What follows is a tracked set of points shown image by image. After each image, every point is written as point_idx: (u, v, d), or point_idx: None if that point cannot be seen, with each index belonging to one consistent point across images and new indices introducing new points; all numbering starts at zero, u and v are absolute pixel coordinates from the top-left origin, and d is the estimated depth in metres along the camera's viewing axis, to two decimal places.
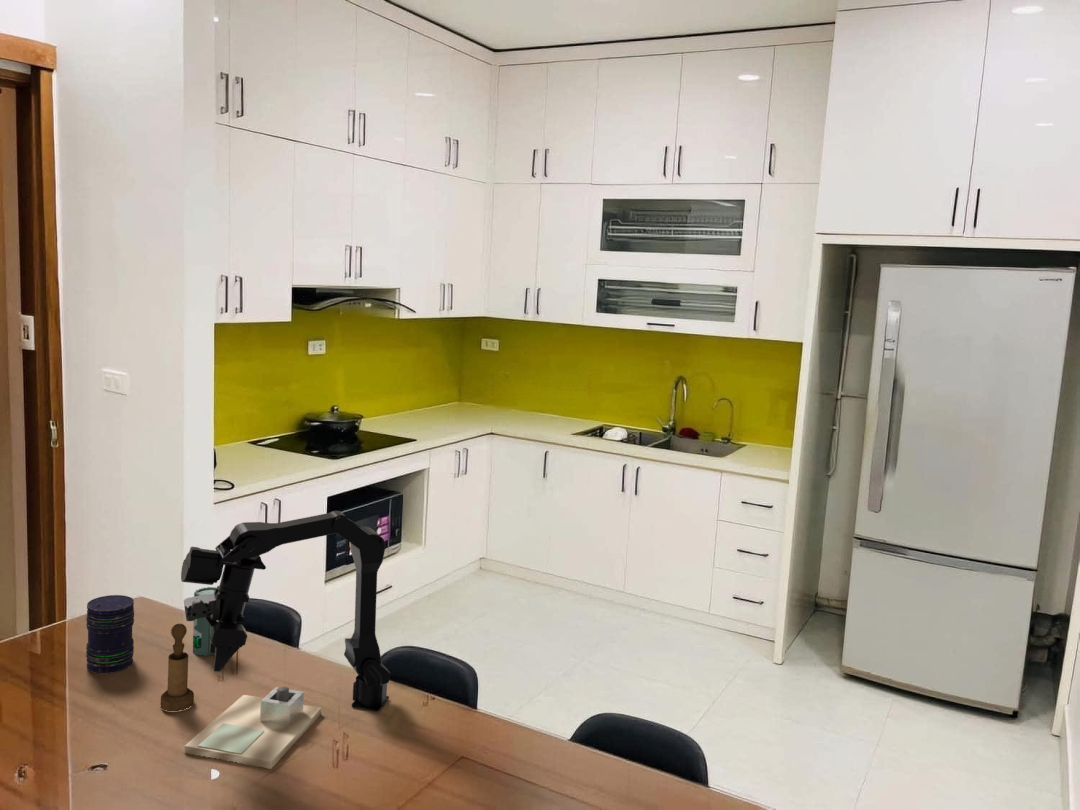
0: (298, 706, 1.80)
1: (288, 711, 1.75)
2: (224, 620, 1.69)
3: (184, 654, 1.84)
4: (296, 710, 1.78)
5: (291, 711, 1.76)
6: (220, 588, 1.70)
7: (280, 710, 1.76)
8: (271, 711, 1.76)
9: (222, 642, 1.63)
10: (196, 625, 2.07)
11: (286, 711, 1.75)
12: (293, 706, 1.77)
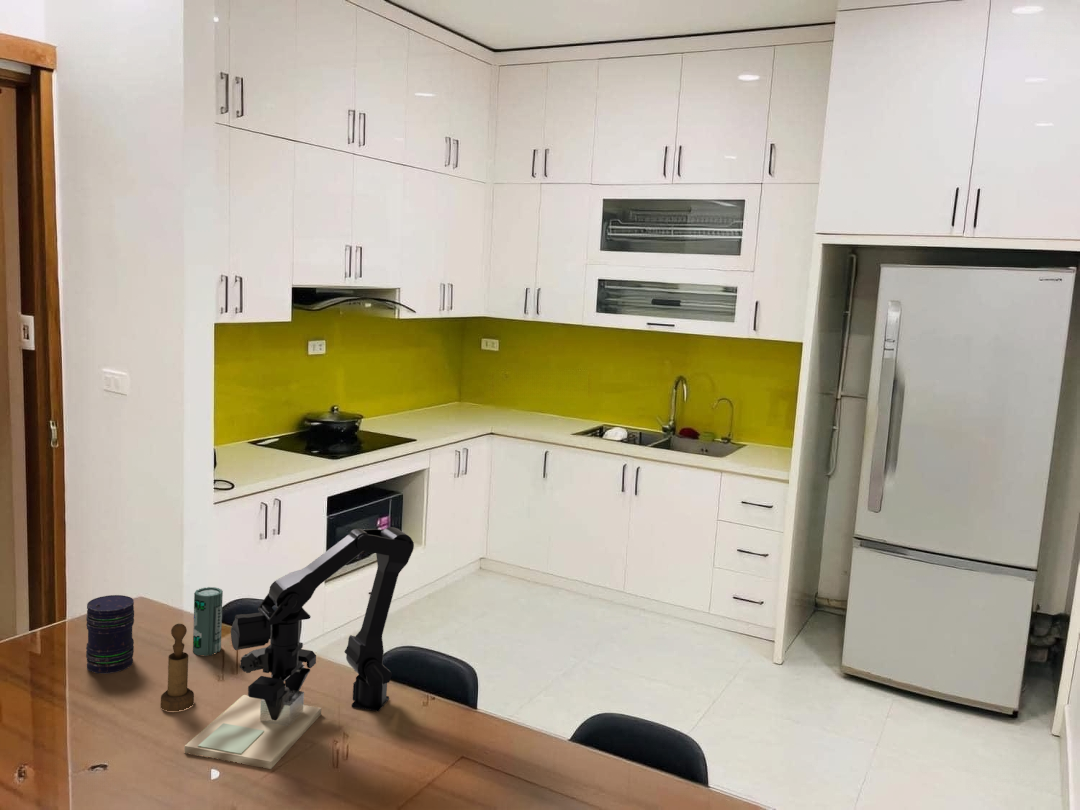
0: (298, 706, 1.80)
1: (288, 711, 1.75)
2: (274, 673, 1.75)
3: (184, 654, 1.84)
4: (296, 710, 1.78)
5: (291, 711, 1.76)
6: None
7: None
8: None
9: (255, 696, 1.69)
10: (196, 625, 2.07)
11: (286, 711, 1.75)
12: (293, 706, 1.77)
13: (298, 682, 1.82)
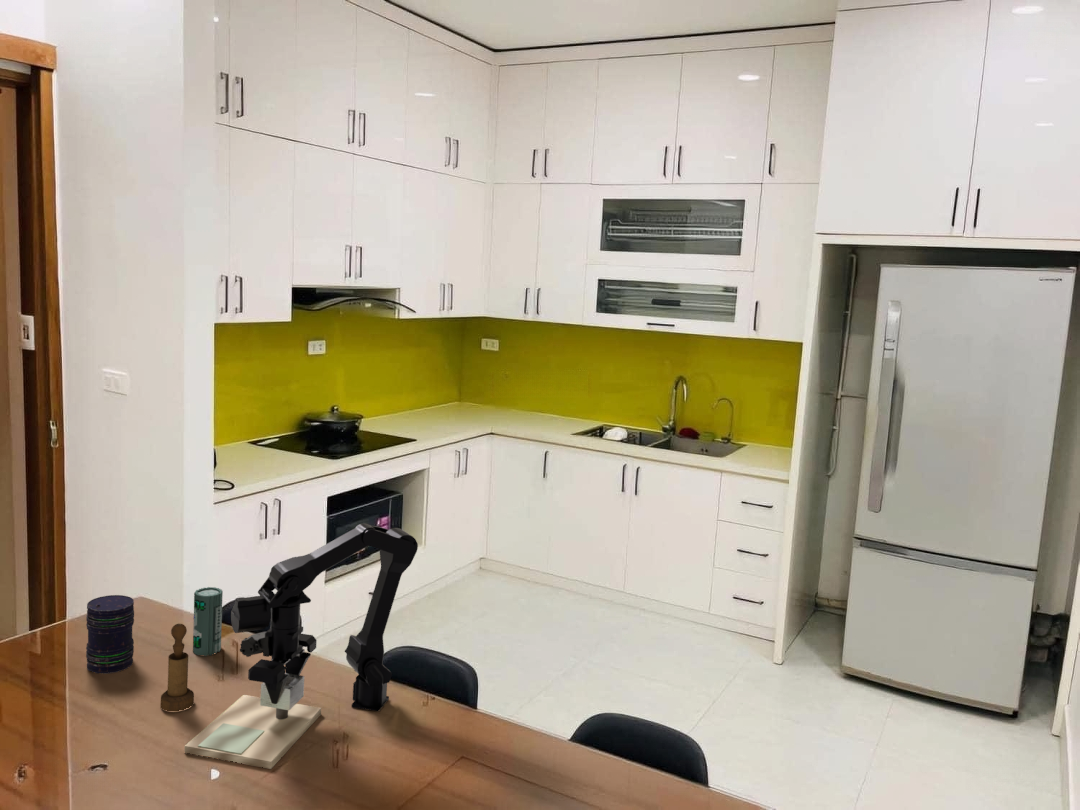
0: (299, 690, 1.79)
1: (288, 695, 1.75)
2: (274, 657, 1.75)
3: (184, 654, 1.84)
4: (296, 694, 1.78)
5: (291, 695, 1.76)
6: None
7: None
8: None
9: (255, 679, 1.69)
10: (196, 625, 2.07)
11: (286, 695, 1.75)
12: (293, 690, 1.76)
13: (298, 667, 1.81)
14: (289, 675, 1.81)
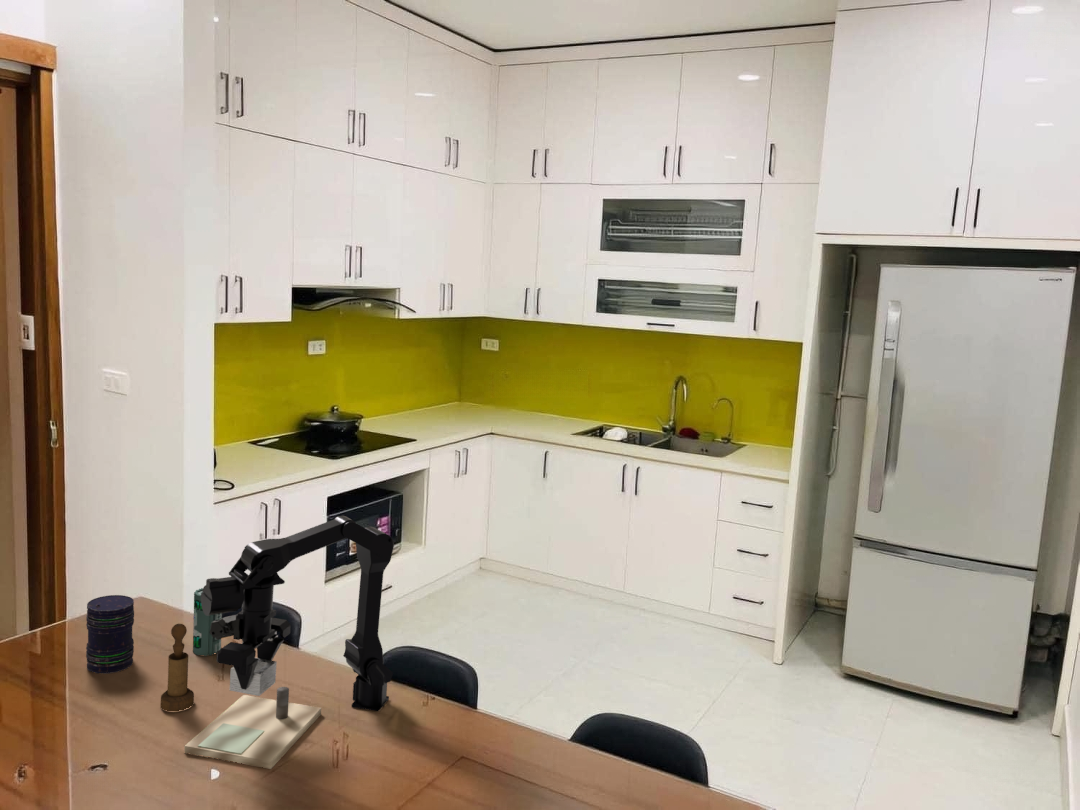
0: (270, 676, 1.72)
1: (259, 680, 1.68)
2: (245, 640, 1.68)
3: (184, 654, 1.84)
4: (267, 680, 1.71)
5: (262, 680, 1.69)
6: None
7: None
8: None
9: (223, 662, 1.62)
10: (196, 625, 2.07)
11: (257, 680, 1.68)
12: (264, 675, 1.70)
13: (271, 652, 1.75)
14: (261, 660, 1.74)
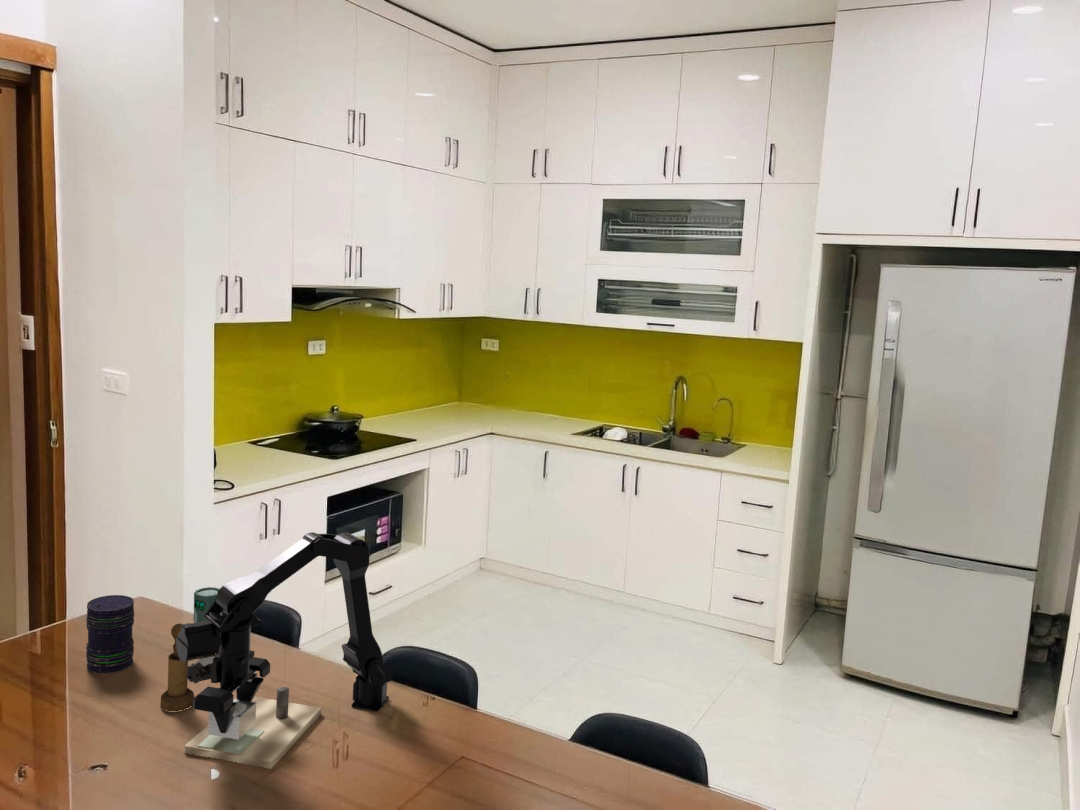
0: (250, 718, 1.69)
1: (237, 723, 1.65)
2: (222, 684, 1.65)
3: None
4: (247, 722, 1.68)
5: (241, 723, 1.66)
6: None
7: None
8: None
9: (200, 709, 1.59)
10: None
11: (236, 724, 1.65)
12: (243, 718, 1.67)
13: (250, 693, 1.72)
14: (240, 701, 1.71)
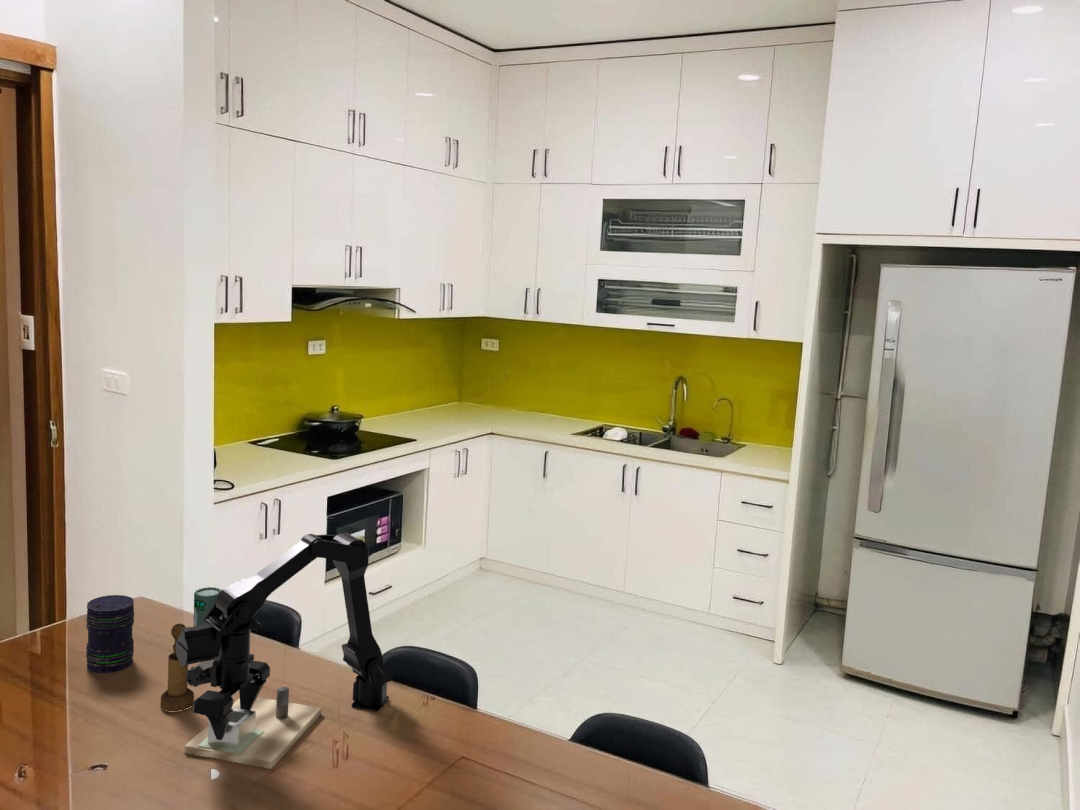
0: (249, 727, 1.70)
1: (237, 732, 1.65)
2: (222, 687, 1.65)
3: None
4: (246, 731, 1.69)
5: (240, 732, 1.66)
6: None
7: (229, 731, 1.66)
8: None
9: (200, 712, 1.59)
10: (196, 625, 2.07)
11: (235, 733, 1.66)
12: (242, 727, 1.67)
13: (253, 694, 1.73)
14: (240, 710, 1.71)
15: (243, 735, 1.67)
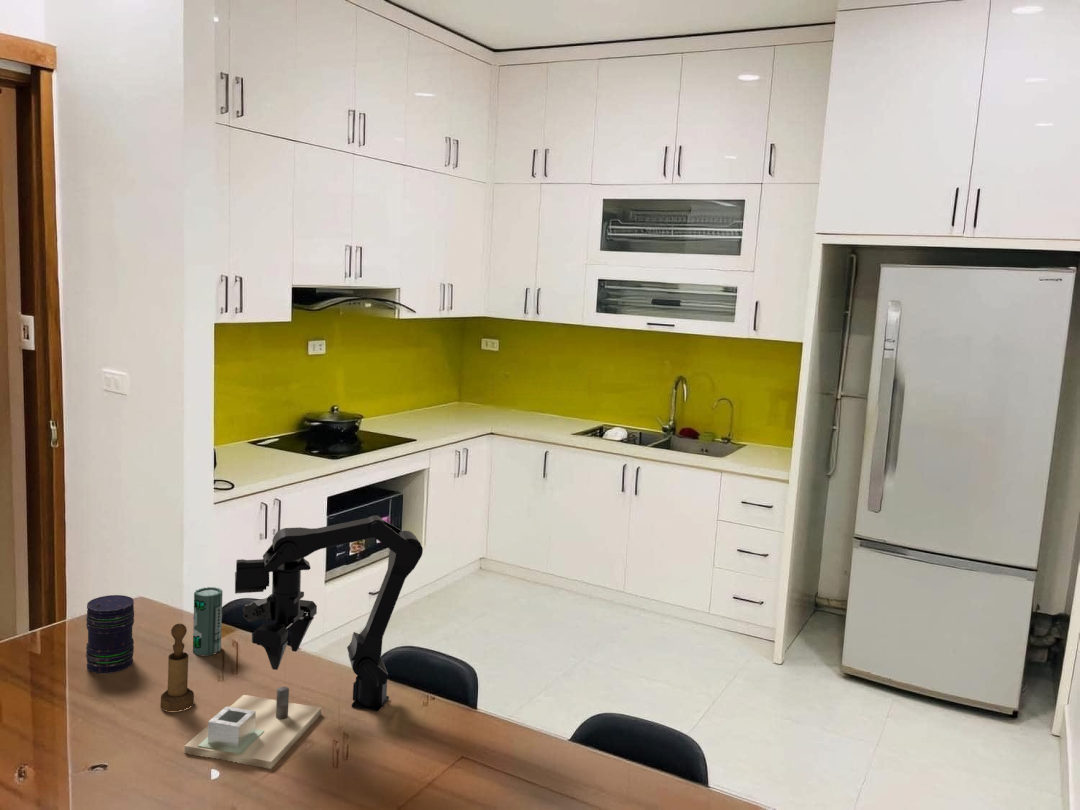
0: (249, 727, 1.70)
1: (237, 732, 1.65)
2: (276, 621, 1.79)
3: (184, 654, 1.84)
4: (246, 731, 1.69)
5: (240, 732, 1.66)
6: None
7: (229, 731, 1.66)
8: (220, 733, 1.66)
9: (259, 642, 1.73)
10: (196, 625, 2.07)
11: (235, 733, 1.66)
12: (242, 727, 1.67)
13: (302, 629, 1.87)
14: (240, 710, 1.71)
15: (243, 735, 1.67)
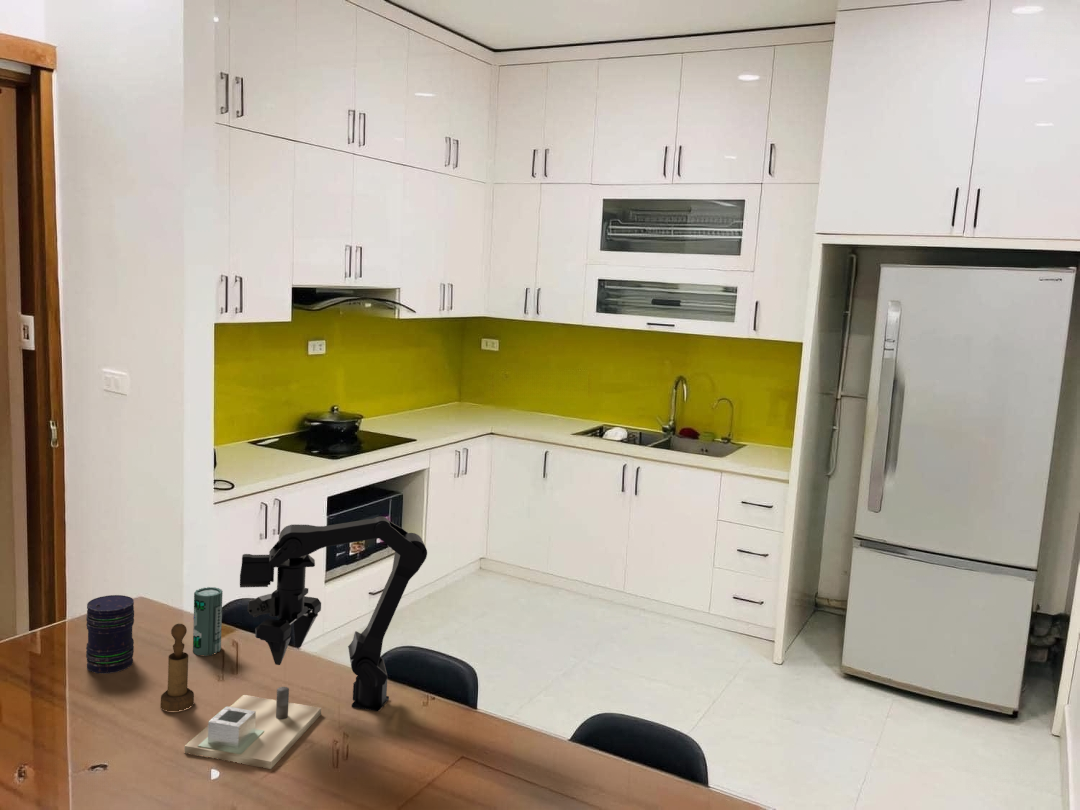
0: (249, 727, 1.70)
1: (237, 732, 1.65)
2: (280, 617, 1.80)
3: (184, 654, 1.84)
4: (246, 731, 1.69)
5: (240, 732, 1.66)
6: None
7: (229, 731, 1.66)
8: (220, 733, 1.66)
9: (262, 637, 1.74)
10: (196, 625, 2.07)
11: (235, 733, 1.66)
12: (242, 727, 1.67)
13: (306, 626, 1.88)
14: (240, 710, 1.71)
15: (243, 735, 1.67)
